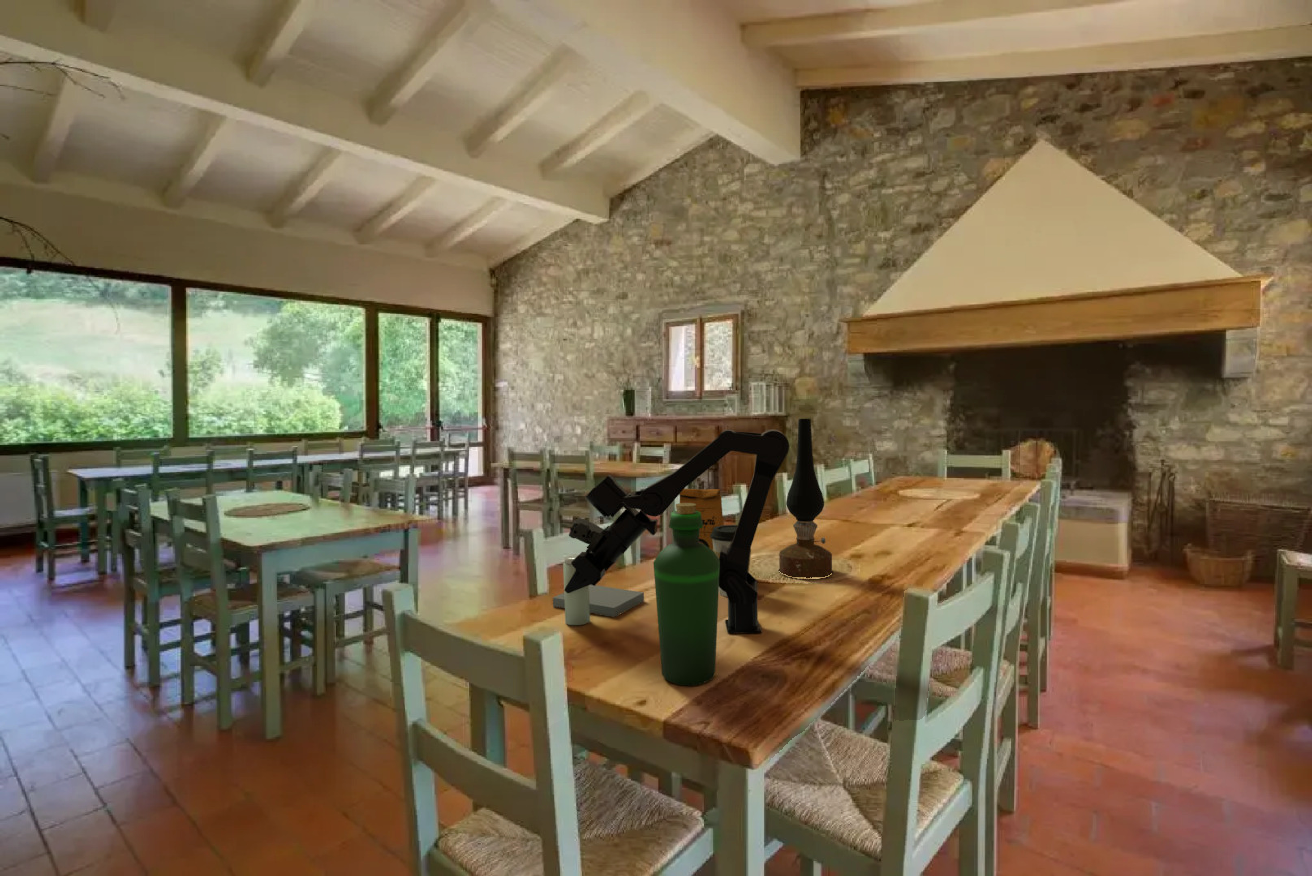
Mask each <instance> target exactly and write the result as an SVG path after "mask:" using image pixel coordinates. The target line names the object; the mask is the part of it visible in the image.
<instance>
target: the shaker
mask: <svg viewBox="0 0 1312 876" xmlns="http://www.w3.org/2000/svg"><path fill="white" fill-rule="evenodd" d="M578 555H579V554H571V555H567V556H565V557H564V562H563V563H562V566H563V567H562V568H563V571H562V572H563V591H564V592H563V593H564V600H565V609H564V621H565V624H566V625H569V626H582V625H586V624H588V623H590V622H591V613H590V601H589V585H588V586H586V587H583V588H581V589H578V590H576V591H573V592H571V593H567V592H566V591H565V590H564V589H565V588H566V586H567V584H568V583H569V581H570V579H571V578H572V576H573V574H574V573H575V571H576V569H575V568H574V567H573V566H572V564H571V562H572V561H573V560H574V559H575V558H576V557H577V556H578Z"/></svg>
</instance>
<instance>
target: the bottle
mask: <svg viewBox="0 0 1312 876" xmlns="http://www.w3.org/2000/svg"><path fill="white" fill-rule="evenodd" d="M695 508H696V504H694V503H680V502H679V503H676V504H675V510H674V511H672V512H671V513H670V519H669V523H668V528H670V529H671V530H672V535H673V536H672V537H673V539H672V540H673V542H672V543H669V544H668V545H666V546H665V547H664V548H662V549H661V550H660V551H659V552H658V554H657V556H656V557H655V560H654V561H653V572H654V588H655V599H656V614H657V626H658V637H659V638H658V639H659V640H658V641H659V652H660V653H659V654H660V664H661V665H660V666H661V675H662V676H663V677H664V679H665V680H666V681H668V682H670V683H674V684H676V685H679V686H689V687H691V686H698V685H703V684H705V683H707V682H708V681H711V680H712V679H714V677H715V674H716V661H717V657H716V656H717V637H718V635H717V633H718V616H719V615H718V613H719V595H720V594H719V570H720V560H719V559H718V557H717V556H716V554H715V553H714V551H713V550H711V549H710V548H708V547H707V546H705V545H704V544H702V543H700V542H699V533H700V528H702V527H703V522H702V517H701V513H700V512H699V511H695Z"/></svg>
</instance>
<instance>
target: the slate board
mask: <svg viewBox="0 0 1312 876" xmlns="http://www.w3.org/2000/svg"><path fill="white" fill-rule="evenodd" d="M589 601H590V612H591V613H590V614H592V613H596V614H595V615H598V614H601V615H600V616H603V615H605V617H609V616H613V617H612V618H616V617H618V616H619V614H620V613H622V612H623V613H625V612H628V611H629V610H631V609H632V607H633V608H634V607H637V606H638V605H640V604H642V603H644V602H645V592H642V591H637V590H629V589H624V588H618V587H617V588H616V587H611V586H603V585H597V584H596V585H595V586H593V585H589ZM639 603H640V604H639ZM552 607H553V608H558V607H559V608H560V607H561V608H560V609H564V608H565V600H564V592H562V593H560V594H558V595H555V596H553V597H552ZM630 608H631V609H630ZM628 609H629V610H628ZM624 611H625V612H624ZM623 613H622V614H623ZM620 615H621V614H620ZM615 616H616V617H615Z"/></svg>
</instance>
